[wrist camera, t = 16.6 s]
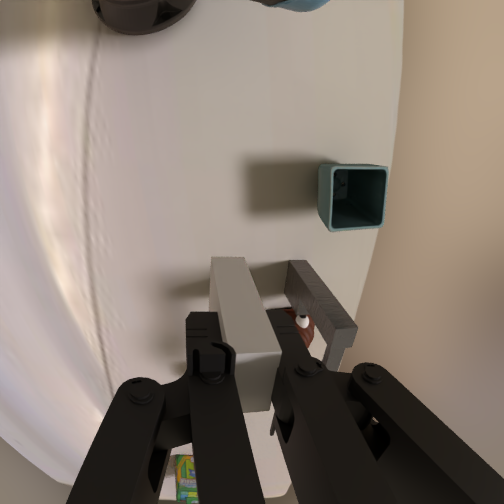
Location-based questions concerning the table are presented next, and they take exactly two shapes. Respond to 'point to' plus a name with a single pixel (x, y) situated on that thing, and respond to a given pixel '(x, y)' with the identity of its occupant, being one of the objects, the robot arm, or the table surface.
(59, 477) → the table surface
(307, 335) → the poop emoji
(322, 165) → the flower pot
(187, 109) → the table surface
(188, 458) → the chalk box
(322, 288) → the sight ring stand
